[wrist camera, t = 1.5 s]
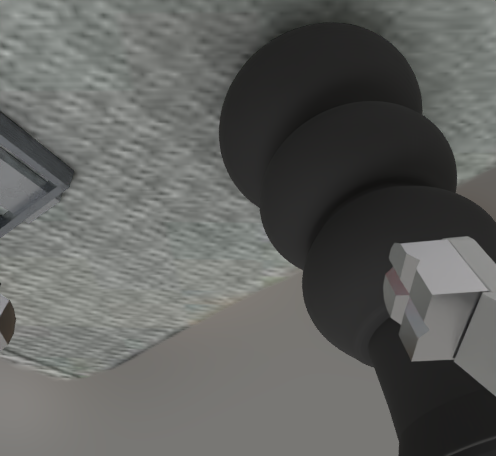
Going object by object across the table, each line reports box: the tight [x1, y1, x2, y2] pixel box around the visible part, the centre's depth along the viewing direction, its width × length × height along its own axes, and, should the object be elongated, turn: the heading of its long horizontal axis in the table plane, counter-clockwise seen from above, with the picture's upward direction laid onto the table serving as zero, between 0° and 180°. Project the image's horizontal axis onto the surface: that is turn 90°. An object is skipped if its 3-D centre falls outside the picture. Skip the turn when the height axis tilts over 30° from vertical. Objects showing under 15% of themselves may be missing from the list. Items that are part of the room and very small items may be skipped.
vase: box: [219, 23, 496, 456], centre depth 30 cm, size 18×18×35 cm
